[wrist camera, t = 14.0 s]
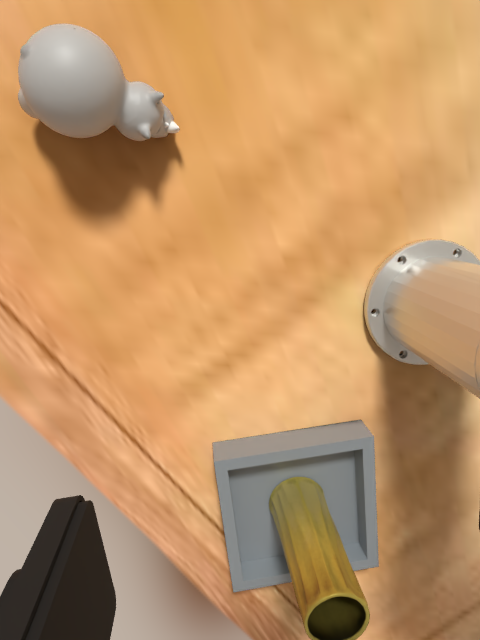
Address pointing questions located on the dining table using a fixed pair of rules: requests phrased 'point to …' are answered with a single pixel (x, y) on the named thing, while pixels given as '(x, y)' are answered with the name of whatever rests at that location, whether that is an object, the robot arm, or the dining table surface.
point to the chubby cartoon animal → (86, 88)
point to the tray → (283, 463)
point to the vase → (318, 562)
